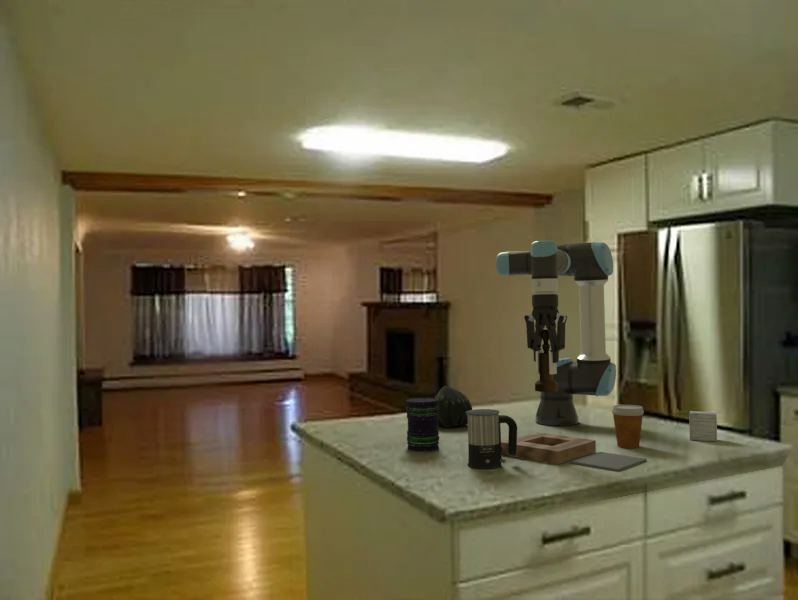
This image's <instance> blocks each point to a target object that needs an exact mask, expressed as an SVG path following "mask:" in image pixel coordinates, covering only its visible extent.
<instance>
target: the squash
mask: <svg viewBox="0 0 798 600" xmlns="http://www.w3.org/2000/svg"><path fill="white" fill-rule="evenodd" d="M434 398H436V399H438V408H439V412H438V415H439V416H438V427H440V428H446V429H447V428H448V429H449V428H452V426H458V427H465V426H468V417H467V414H466V412H467V411H469V410H473V406H472V404H471V402H470V399H469V398H468V397H467V396H466V395H465V394H464V393H463V392H461V391H459V390H457V389H455V388H453V387H450V386H446V385H444V386H443V387H441V388H440V389H439V391H438V392H437V394H436V395H435V396H434Z"/></svg>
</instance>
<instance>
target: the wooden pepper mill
mask: <svg viewBox="0 0 798 600" xmlns="http://www.w3.org/2000/svg"><path fill="white" fill-rule="evenodd" d="M540 335H541V338H542V343H543V344H541V349H542V351H543V353H539V360H540V375H539V380H537V381H536V382H534V391H535V392H539V393H540V392H557V391H558V383H557V382H556V381H554V380H553V374H552V375H551V374H549V352H550V349H551V345H550V340H549V335H548V329H547V328H546V329H545V328H544V330H542V331H541V334H540Z"/></svg>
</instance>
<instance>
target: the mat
mask: <svg viewBox="0 0 798 600" xmlns="http://www.w3.org/2000/svg"><path fill="white" fill-rule="evenodd" d="M645 462H647V458H644V457H643V458H642V457H638V456H637V457H636V456H630V455H625V454H617V453H611V452H605V451H598V452H595V453H592V454H589V455H586V456H583V457H580V458H576V459H573V460H570V464H573V465H578V466H583V467H590V468H597V469H602V470H607V471H614V472H621V471H624V470H625V469H628V468H629V469H630V468H632V467H634V466H637V465H639V464H642V463H645Z"/></svg>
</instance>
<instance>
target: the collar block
mask: <svg viewBox="0 0 798 600" xmlns="http://www.w3.org/2000/svg"><path fill="white" fill-rule="evenodd" d="M596 442H597V441H596V440H595V439H588V438H582V437H576V436H575V437H574V436H566V435H561V434H554V433H553V434H551V433H547V432H540V431H537V432H534V433H533V432H532V433H528V434H526V435H522V436H517V447H516V454H515V455H514V456H512V455H510V454H509V452H508V439H505V440H501V446H502V447H503V450H502V452H501V455H504V456H510V457H515V458H520V459H521V458H522V459H525V460H527V459H528V460H531V461H537V462H543V463H550V464H555V465H560V464H563V463H567V462H571V461H573V460H576V459H579V458H582V457H585V456H589V455H592V454H595V453H597V448H596V447H597V443H596Z"/></svg>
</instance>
